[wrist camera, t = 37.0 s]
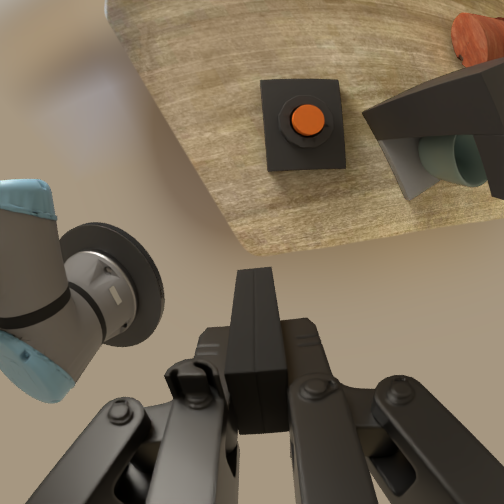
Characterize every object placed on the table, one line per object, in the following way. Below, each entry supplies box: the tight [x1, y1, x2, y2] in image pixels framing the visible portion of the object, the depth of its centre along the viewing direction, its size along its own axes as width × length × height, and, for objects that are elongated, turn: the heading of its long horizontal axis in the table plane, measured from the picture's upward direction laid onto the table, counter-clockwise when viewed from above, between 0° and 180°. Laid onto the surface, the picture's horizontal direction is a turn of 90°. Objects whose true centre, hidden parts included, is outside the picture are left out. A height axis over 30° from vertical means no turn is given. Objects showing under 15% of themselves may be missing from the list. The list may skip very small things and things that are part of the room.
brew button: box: [292, 105, 325, 136], centre depth 29 cm, size 4×4×2 cm
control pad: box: [260, 79, 346, 172], centre depth 32 cm, size 10×12×4 cm
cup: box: [418, 135, 487, 187], centre depth 28 cm, size 8×8×10 cm
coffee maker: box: [362, 57, 504, 201], centre depth 22 cm, size 14×14×24 cm
